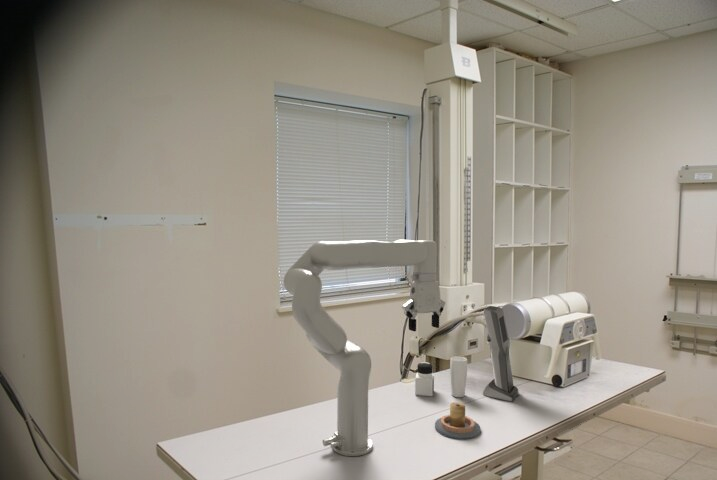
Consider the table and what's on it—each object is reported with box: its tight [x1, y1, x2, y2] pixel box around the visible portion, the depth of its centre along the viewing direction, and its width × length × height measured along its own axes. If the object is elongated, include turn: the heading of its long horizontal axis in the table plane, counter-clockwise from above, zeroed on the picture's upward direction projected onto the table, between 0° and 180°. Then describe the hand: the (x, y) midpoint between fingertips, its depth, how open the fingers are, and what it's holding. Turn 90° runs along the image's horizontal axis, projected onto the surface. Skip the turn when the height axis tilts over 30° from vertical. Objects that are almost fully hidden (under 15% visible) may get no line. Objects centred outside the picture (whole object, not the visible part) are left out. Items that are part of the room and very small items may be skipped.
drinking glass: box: [449, 355, 468, 398], centre depth 184 cm, size 7×7×15 cm
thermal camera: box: [482, 305, 519, 403], centre depth 185 cm, size 12×13×35 cm
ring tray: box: [434, 414, 481, 440], centre depth 155 cm, size 15×15×2 cm
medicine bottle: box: [414, 362, 435, 397], centre depth 187 cm, size 7×7×12 cm
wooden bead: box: [449, 402, 466, 427], centre depth 154 cm, size 5×5×7 cm
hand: (424, 328), depth 152 cm, fingers open, 9 cm apart
